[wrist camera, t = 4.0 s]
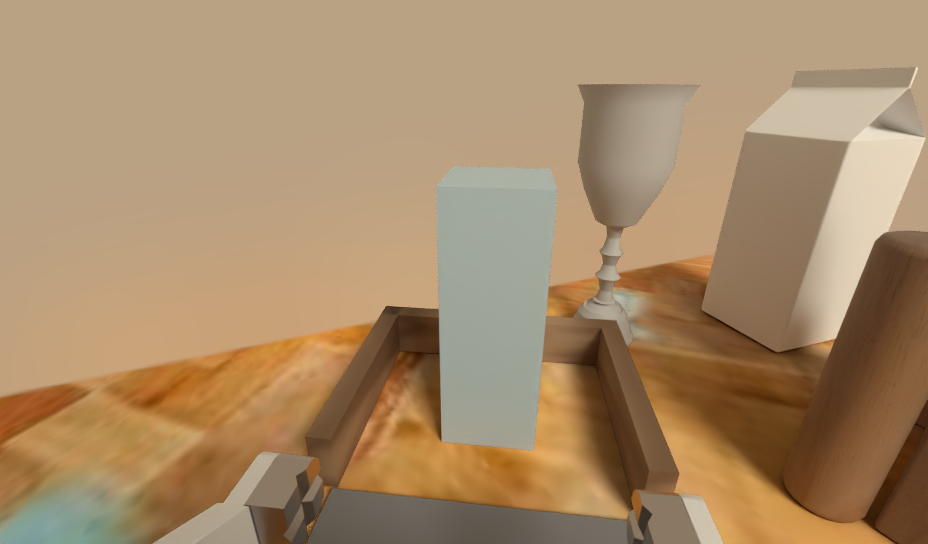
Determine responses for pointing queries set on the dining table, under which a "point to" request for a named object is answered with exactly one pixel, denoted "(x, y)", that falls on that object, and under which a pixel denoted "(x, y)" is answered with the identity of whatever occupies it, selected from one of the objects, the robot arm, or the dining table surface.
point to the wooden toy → (872, 399)
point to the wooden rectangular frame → (562, 343)
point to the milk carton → (813, 203)
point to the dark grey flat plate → (451, 523)
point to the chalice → (626, 168)
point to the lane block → (493, 301)
